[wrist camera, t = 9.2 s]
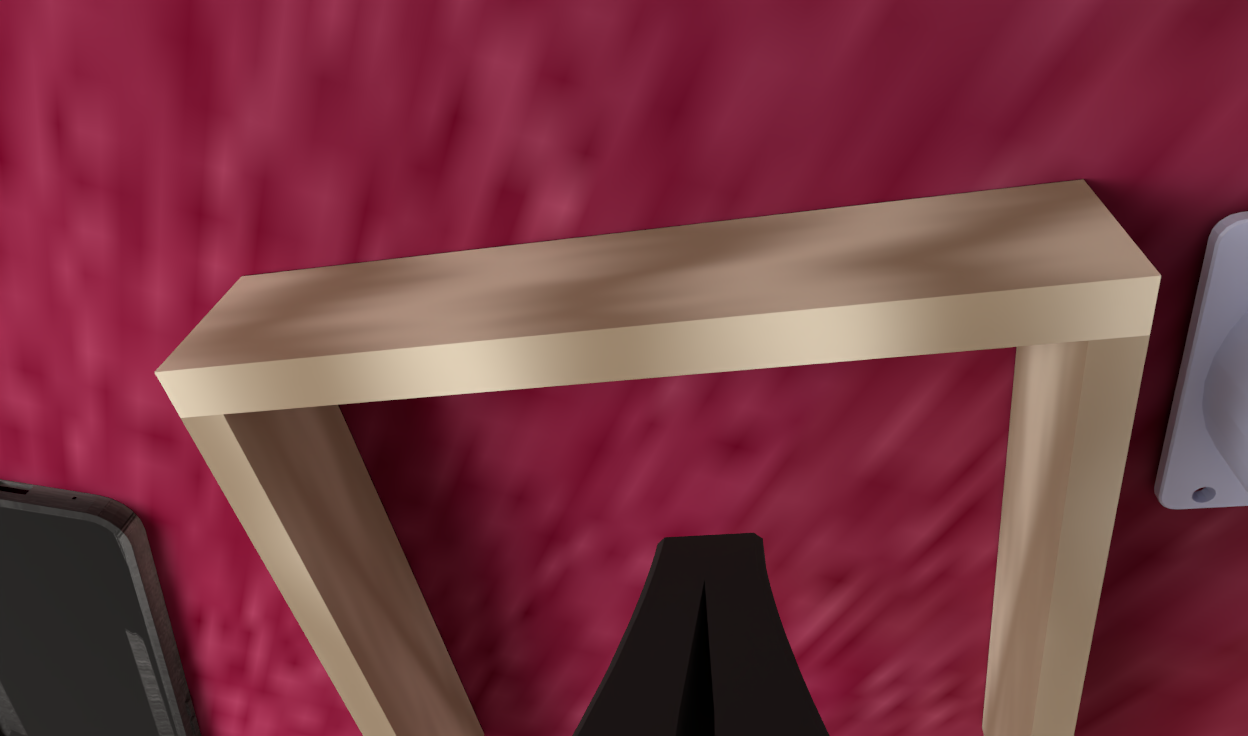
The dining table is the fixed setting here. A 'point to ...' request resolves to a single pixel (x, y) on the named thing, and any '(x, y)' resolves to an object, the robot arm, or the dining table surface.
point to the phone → (84, 622)
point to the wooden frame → (670, 346)
